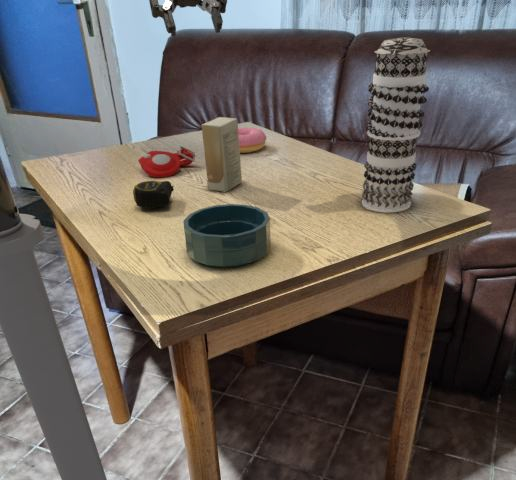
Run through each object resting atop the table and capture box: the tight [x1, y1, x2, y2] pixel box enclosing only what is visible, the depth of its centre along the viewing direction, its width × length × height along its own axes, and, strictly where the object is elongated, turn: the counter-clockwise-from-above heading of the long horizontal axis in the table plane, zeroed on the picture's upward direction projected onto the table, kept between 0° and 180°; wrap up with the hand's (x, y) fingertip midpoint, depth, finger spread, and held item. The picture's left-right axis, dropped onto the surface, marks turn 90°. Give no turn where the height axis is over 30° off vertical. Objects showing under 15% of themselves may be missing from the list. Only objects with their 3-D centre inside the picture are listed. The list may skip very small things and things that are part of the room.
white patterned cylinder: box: [361, 37, 431, 214], centre depth 83 cm, size 9×9×25 cm
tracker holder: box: [137, 145, 197, 178], centre depth 112 cm, size 12×4×10 cm
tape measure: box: [132, 180, 175, 209], centre depth 93 cm, size 7×7×4 cm
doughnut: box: [238, 127, 267, 154], centre depth 123 cm, size 11×11×4 cm
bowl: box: [183, 203, 272, 268], centre depth 76 cm, size 12×12×5 cm
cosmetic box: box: [201, 116, 243, 193], centre depth 98 cm, size 6×4×12 cm
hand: (196, 31), depth 95 cm, fingers open, 8 cm apart
